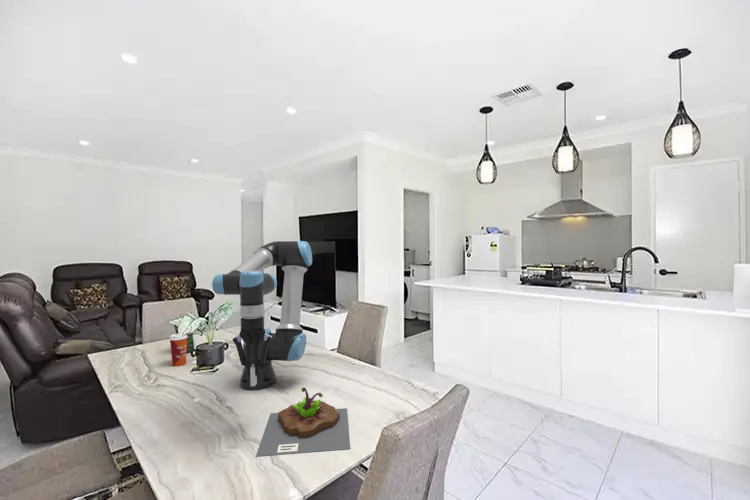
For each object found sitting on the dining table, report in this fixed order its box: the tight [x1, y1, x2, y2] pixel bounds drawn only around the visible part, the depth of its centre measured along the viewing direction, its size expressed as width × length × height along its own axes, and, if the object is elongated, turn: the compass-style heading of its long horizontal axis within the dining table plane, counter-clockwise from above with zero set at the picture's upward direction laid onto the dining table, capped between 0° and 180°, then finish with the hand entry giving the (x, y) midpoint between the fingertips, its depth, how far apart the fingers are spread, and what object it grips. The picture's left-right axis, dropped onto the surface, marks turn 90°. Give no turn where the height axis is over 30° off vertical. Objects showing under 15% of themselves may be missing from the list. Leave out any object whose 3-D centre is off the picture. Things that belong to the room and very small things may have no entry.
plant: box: [277, 386, 340, 437], centre depth 128 cm, size 20×20×11 cm
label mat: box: [255, 407, 351, 458], centre depth 122 cm, size 28×26×1 cm
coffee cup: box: [169, 333, 188, 367], centre depth 186 cm, size 8×8×15 cm
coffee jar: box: [173, 324, 195, 354], centre depth 205 cm, size 10×8×19 cm
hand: (253, 384), depth 125 cm, fingers closed
